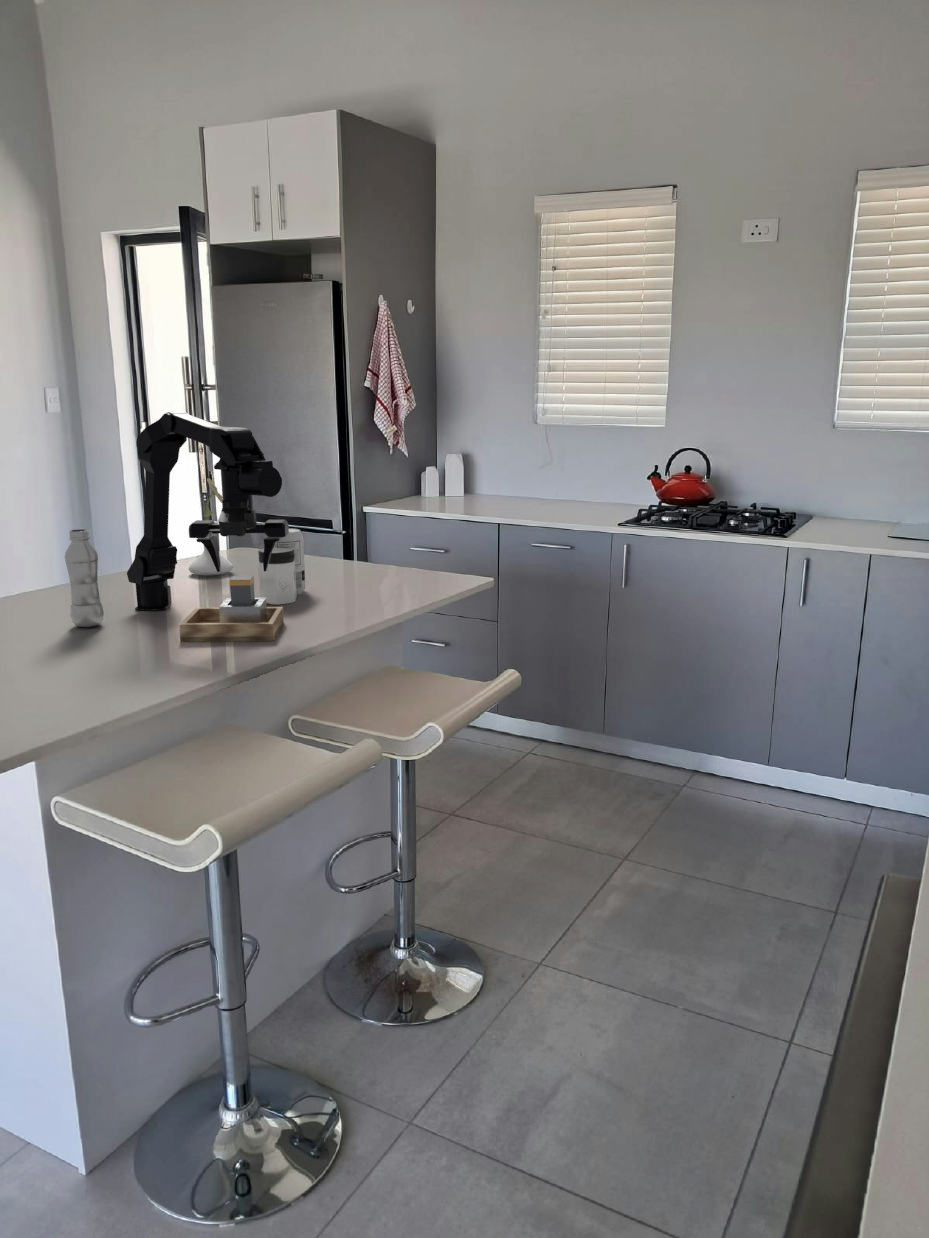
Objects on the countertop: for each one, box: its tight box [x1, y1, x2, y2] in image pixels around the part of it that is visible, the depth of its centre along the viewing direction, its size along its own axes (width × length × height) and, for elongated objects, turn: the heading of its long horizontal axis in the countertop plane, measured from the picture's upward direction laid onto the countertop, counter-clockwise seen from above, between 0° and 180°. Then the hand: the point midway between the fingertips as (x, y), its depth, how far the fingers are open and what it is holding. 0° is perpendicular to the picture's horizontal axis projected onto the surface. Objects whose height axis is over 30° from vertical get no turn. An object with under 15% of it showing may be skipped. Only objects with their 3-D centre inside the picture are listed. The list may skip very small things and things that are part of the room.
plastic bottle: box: [64, 528, 105, 628], centre depth 189 cm, size 6×7×20 cm
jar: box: [257, 547, 298, 606], centre depth 214 cm, size 9×8×12 cm
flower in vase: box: [188, 477, 234, 577], centre depth 242 cm, size 13×11×25 cm
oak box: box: [178, 606, 284, 643], centre depth 187 cm, size 18×14×4 cm
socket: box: [219, 597, 268, 623], centre depth 188 cm, size 8×8×6 cm
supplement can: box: [274, 527, 306, 595], centre depth 222 cm, size 8×8×15 cm
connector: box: [229, 575, 256, 605], centre depth 187 cm, size 4×4×8 cm
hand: (242, 571), depth 186 cm, fingers open, 9 cm apart
